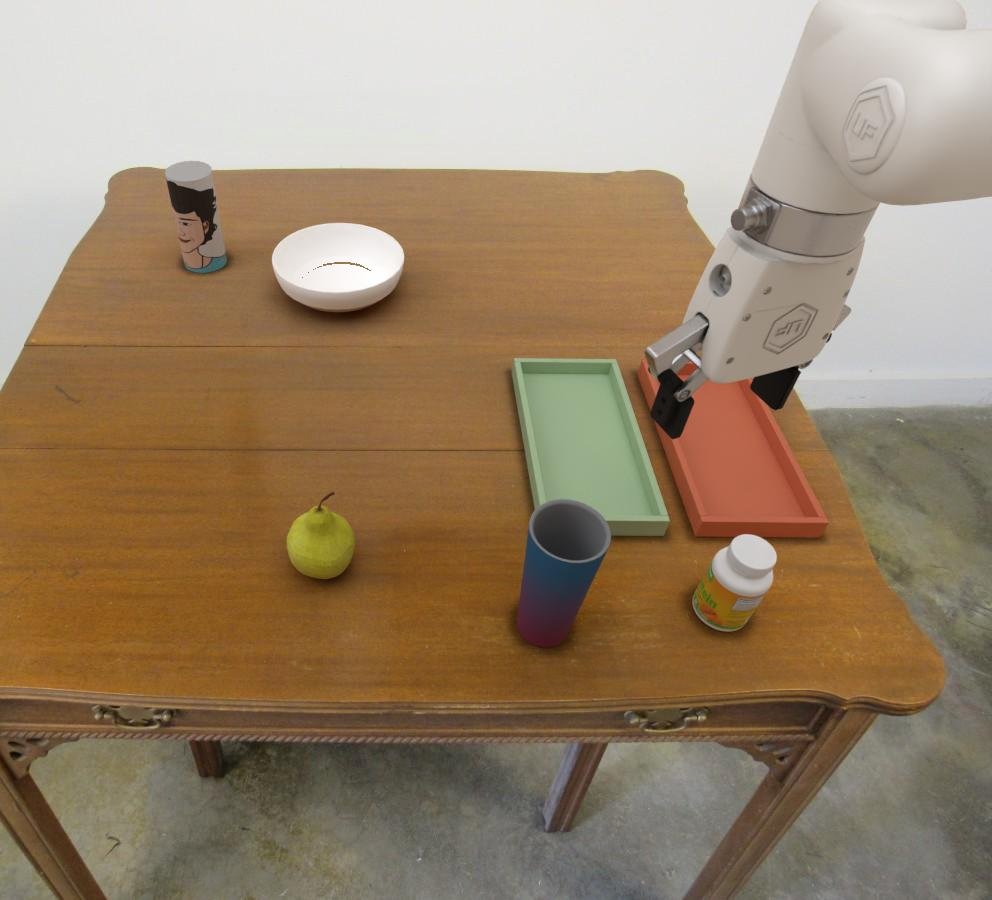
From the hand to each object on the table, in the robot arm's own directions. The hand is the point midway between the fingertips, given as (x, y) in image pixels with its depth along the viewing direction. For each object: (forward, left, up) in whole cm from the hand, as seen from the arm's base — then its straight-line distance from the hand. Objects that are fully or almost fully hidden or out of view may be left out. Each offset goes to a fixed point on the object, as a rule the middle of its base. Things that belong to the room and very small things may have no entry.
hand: (715, 412), depth 59 cm
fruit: (+2, +33, -24) cm, 41 cm away
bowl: (+53, +34, -24) cm, 67 cm away
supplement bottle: (-3, -7, -24) cm, 25 cm away
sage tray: (+20, +3, -24) cm, 31 cm away
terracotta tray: (+20, -14, -24) cm, 34 cm away
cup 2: (-5, +11, -24) cm, 27 cm away
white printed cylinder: (+61, +56, -24) cm, 86 cm away
